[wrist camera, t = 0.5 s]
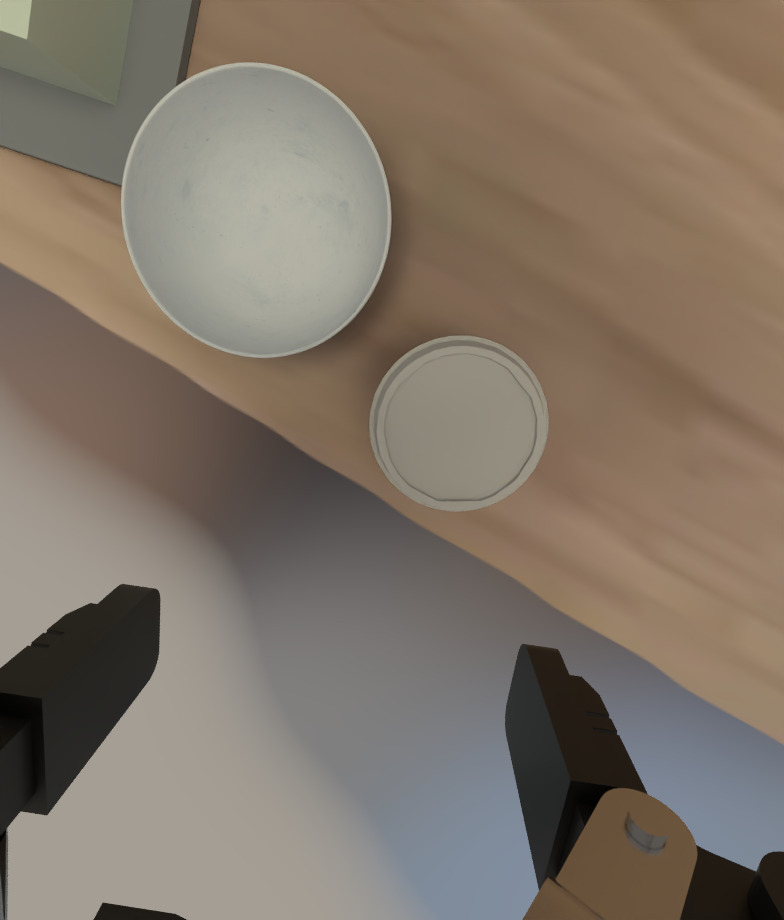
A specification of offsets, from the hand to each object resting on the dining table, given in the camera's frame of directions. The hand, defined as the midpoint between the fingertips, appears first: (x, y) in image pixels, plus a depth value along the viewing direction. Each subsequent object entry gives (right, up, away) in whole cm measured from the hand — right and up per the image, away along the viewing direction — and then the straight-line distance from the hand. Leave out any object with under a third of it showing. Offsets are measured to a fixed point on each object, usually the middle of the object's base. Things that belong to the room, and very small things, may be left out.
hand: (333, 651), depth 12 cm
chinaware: (-6, +19, +25) cm, 32 cm away
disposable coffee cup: (+5, +9, +27) cm, 29 cm away
